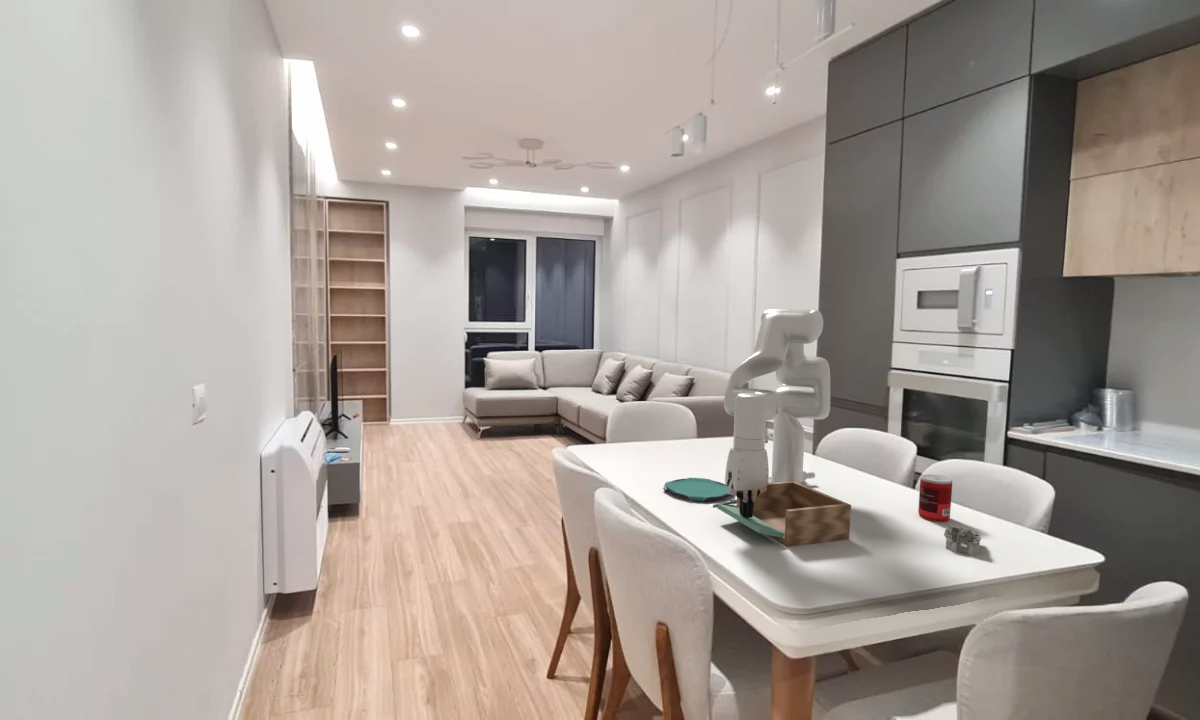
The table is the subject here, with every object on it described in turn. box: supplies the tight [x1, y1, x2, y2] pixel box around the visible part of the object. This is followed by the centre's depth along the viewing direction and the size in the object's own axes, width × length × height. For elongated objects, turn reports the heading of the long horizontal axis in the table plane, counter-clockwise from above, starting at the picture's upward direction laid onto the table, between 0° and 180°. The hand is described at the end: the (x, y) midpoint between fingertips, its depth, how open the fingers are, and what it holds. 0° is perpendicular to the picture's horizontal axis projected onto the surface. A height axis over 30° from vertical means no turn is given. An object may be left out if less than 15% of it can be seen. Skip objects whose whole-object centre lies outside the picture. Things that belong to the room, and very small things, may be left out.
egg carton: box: [943, 523, 982, 556], centre depth 147 cm, size 11×8×4 cm
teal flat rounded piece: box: [662, 477, 737, 508], centre depth 183 cm, size 20×30×2 cm, turn 34°
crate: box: [736, 481, 852, 547], centre depth 157 cm, size 18×22×8 cm
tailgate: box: [716, 503, 784, 538], centre depth 153 cm, size 1×19×7 cm
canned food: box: [917, 473, 953, 523], centre depth 168 cm, size 8×8×11 cm
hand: (746, 516), depth 153 cm, fingers closed
